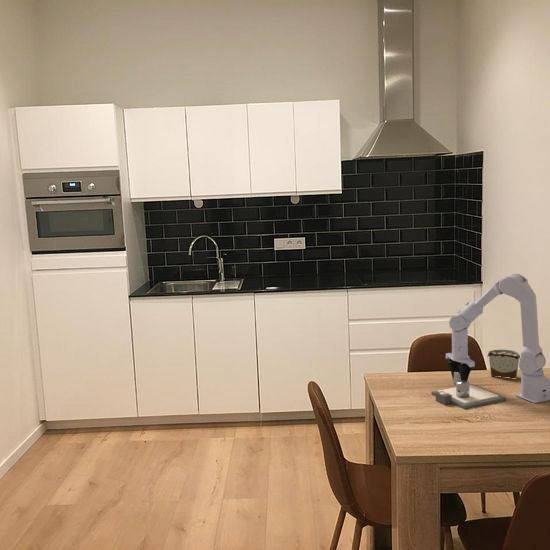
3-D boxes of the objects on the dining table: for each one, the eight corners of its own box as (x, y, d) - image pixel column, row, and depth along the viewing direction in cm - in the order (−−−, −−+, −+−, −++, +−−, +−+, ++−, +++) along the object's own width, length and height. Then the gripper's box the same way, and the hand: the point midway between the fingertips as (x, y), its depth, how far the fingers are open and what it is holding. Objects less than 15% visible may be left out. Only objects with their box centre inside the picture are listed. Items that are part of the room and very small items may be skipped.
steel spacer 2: (470, 394, 221) (470, 381, 220) (468, 398, 217) (468, 384, 216) (457, 393, 223) (457, 379, 222) (454, 397, 219) (454, 383, 218)
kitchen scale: (505, 400, 218) (505, 391, 218) (456, 410, 210) (456, 401, 210) (471, 386, 235) (471, 378, 234) (424, 395, 227) (424, 386, 227)
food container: (523, 375, 245) (523, 351, 244) (520, 380, 240) (520, 354, 239) (491, 372, 252) (491, 348, 251) (487, 376, 247) (487, 351, 245)
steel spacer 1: (468, 385, 237) (468, 372, 236) (459, 387, 235) (459, 374, 234) (459, 382, 241) (459, 369, 240) (451, 384, 239) (451, 371, 238)
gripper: (481, 348, 231) (481, 384, 232) (456, 340, 244) (456, 374, 246) (466, 351, 228) (466, 387, 230) (441, 343, 241) (441, 377, 243)
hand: (459, 380), depth 238 cm, fingers closed on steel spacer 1, 4 cm apart
